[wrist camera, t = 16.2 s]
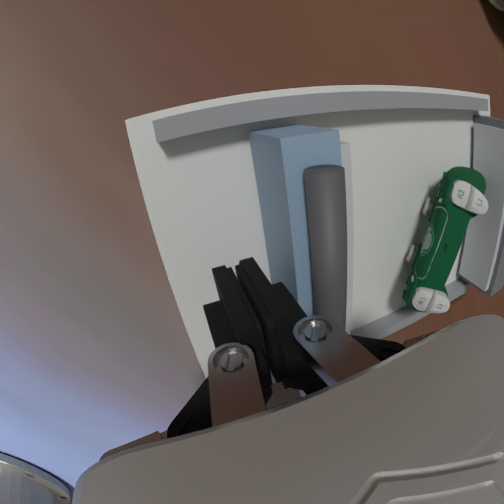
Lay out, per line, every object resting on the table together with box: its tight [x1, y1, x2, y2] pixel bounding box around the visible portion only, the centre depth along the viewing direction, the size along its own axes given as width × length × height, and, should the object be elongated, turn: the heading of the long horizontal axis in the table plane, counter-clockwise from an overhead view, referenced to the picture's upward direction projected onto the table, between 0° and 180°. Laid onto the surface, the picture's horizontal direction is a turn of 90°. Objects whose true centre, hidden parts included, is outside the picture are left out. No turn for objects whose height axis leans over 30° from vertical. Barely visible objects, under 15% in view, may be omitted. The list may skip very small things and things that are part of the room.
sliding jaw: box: [248, 124, 354, 334], centre depth 12 cm, size 12×2×4 cm, turn 9°
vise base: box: [125, 85, 504, 384], centre depth 14 cm, size 15×22×4 cm
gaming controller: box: [402, 166, 488, 313], centre depth 15 cm, size 9×4×6 cm
